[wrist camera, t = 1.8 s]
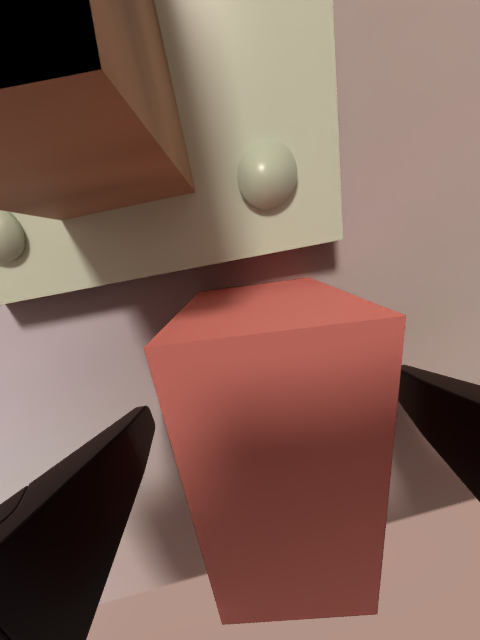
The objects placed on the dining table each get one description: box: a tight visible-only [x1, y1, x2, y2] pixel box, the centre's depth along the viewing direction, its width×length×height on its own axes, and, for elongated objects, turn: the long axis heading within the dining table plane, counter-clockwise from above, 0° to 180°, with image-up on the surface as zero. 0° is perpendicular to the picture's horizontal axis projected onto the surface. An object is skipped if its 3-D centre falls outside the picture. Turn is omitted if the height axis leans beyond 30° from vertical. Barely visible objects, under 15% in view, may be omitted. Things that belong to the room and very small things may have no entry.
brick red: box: [144, 278, 406, 625], centre depth 7 cm, size 8×4×5 cm, turn 7°
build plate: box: [0, 0, 343, 305], centre depth 6 cm, size 12×12×1 cm
